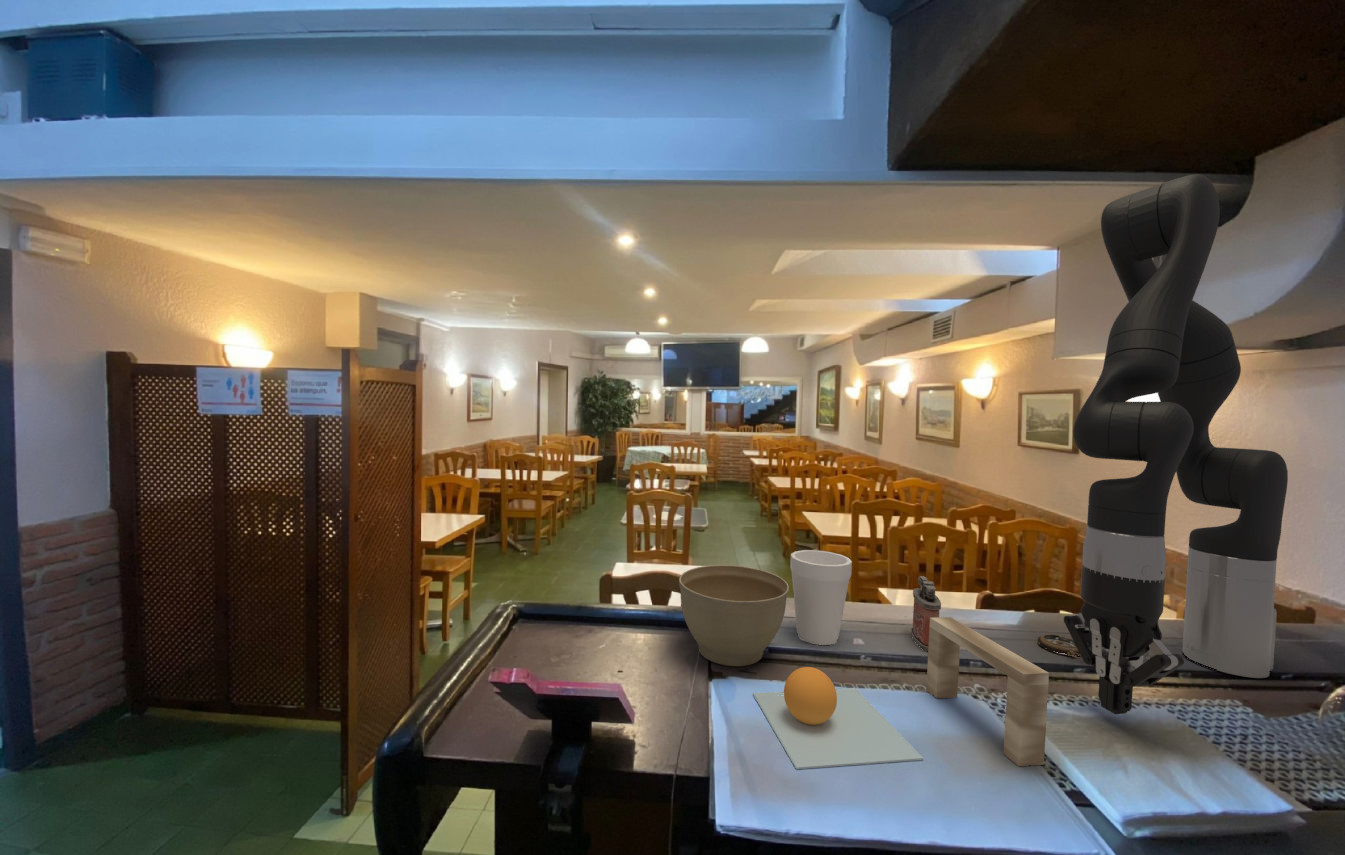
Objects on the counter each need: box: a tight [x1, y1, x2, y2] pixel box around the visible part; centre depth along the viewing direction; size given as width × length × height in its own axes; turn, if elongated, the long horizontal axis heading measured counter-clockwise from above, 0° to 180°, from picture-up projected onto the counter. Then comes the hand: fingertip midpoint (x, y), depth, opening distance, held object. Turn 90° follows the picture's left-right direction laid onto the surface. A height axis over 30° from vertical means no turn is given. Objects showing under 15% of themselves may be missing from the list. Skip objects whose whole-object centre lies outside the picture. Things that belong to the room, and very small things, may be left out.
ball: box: [783, 666, 837, 725], centre depth 61 cm, size 6×6×6 cm
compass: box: [1037, 608, 1090, 659], centre depth 83 cm, size 8×8×7 cm
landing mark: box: [752, 687, 924, 770], centre depth 60 cm, size 14×14×1 cm
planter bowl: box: [678, 564, 790, 667], centre depth 78 cm, size 16×16×11 cm
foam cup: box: [789, 549, 853, 645], centre depth 84 cm, size 10×9×13 cm
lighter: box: [910, 575, 942, 652], centre depth 84 cm, size 8×3×10 cm, turn 168°
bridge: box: [925, 616, 1050, 767], centre depth 62 cm, size 3×15×10 cm, turn 9°
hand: (1113, 710), depth 63 cm, fingers closed
